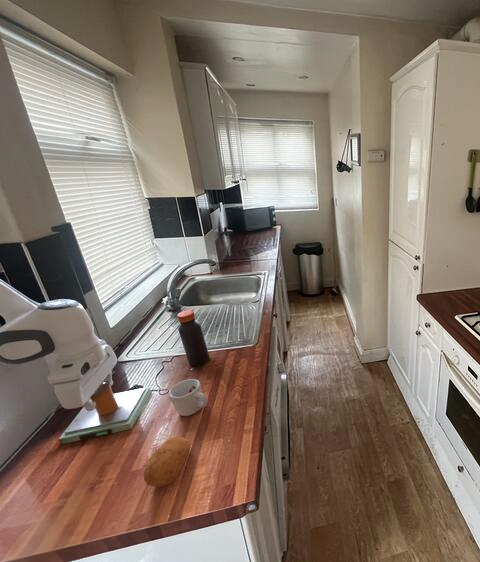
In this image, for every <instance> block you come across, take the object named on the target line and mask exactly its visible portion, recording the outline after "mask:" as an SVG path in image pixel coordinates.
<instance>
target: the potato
mask: <svg viewBox="0 0 480 562" xmlns="http://www.w3.org/2000/svg"><path fill="white" fill-rule="evenodd" d="M190 450H191V442H190V441H189V440H188V439H187V438H185V437H183V436H181V437H180V436H177V437H172V438H171V437H170V438H168V439H167V440H166V441H165V442H163V443H162V444H161V445H160V446H159V447H158V448H157V449H155V450H154V452H152V454H151V455H150V457H149V459H148V461H147V463H146V466H145V468H144V471H143V480H144V482H145V484H146V485H147V486H150V487H155V488H161V487H163V486H164V487H165V486H167V485H169V484H171V483H172V482H174V481H175V480H176V478H177V477H178V476H179V474H180V471H181V469H182V467H183V465H184V463H185V461H186V459H187V457H188V456H189V453H190Z"/></svg>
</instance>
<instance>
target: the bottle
mask: <svg viewBox="0 0 480 562" xmlns="http://www.w3.org/2000/svg"><path fill="white" fill-rule="evenodd" d="M176 316H177V319H178V322H179V323H180V324H179V326H178V328H177V330H178V334H179V338H180V340H181V343H182V346H183V349H184V353H185V355H186V358H187V362H188V365H189V366H190V367H194V368H195V367H201V366H203V365H205V364H207V363H208V362H209V361H210V359H211V358H210V353H209V349H208V346H207V343H206V339H205V336H204V332H203V329H202V325H201V322H199V320H196V315H195V311H194V310H191V309H186V310H182V311H181V312H179V313H177V315H176Z"/></svg>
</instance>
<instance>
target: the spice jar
mask: <svg viewBox="0 0 480 562" xmlns="http://www.w3.org/2000/svg"><path fill="white" fill-rule="evenodd" d="M114 394H115V393H114V392H113V390H112V386H111V387H110V385H109V384H102V383H101V384H100V385H99V386H98V388H97V389H96V390H95V392H94V393H93V394H92V395H91V397H90V398H91V400H92V402H94V401H95V402H96V404H97V406H96V410H97V412H98V414H99V415H105V414H108V413H110V412H112V411H114V410H115V409H116V408H117V407H118V403H117V401H116V399H115V397H114Z"/></svg>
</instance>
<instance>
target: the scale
mask: <svg viewBox="0 0 480 562" xmlns="http://www.w3.org/2000/svg"><path fill="white" fill-rule="evenodd" d="M151 393H152V391H151V387H143V388H137V389H132V390H126V391H122V392H116V393H113V394H114V397H115V399H116V401H117V403H118V407H117V408H116V409H115V410H114V411H112V412H110V413H108V414H105V415H99V414H98V412H97V410H96V408H95V409H94V410H93V411H86V409H85V407H83V406H82V407H81V408H82V409H80V411H79V412H78V413H77V415H76V416H75V417H74V419H72V421H71V423H70V424H69V425H68V426H67V427H66V429H65V430H64V431H63V432H62V434H61V435H60V437H58V440H60V444H61V445H65V444H69V443H74V442H78V441H82V440H87V439H91V438H92V439H93V438H97V437H100V436H101V437H102V436H105V435H109V434H115V433H120V432H123V431H127V430H132V429H133V427H134V426H135V423H136V422H137V420H138V418H139V416H140V414H141V413H142V410H143V408H144V406H145V405H146V403H147V401H148V399H149V397H150V395H151ZM90 401H91V402H92V400H90Z"/></svg>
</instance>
